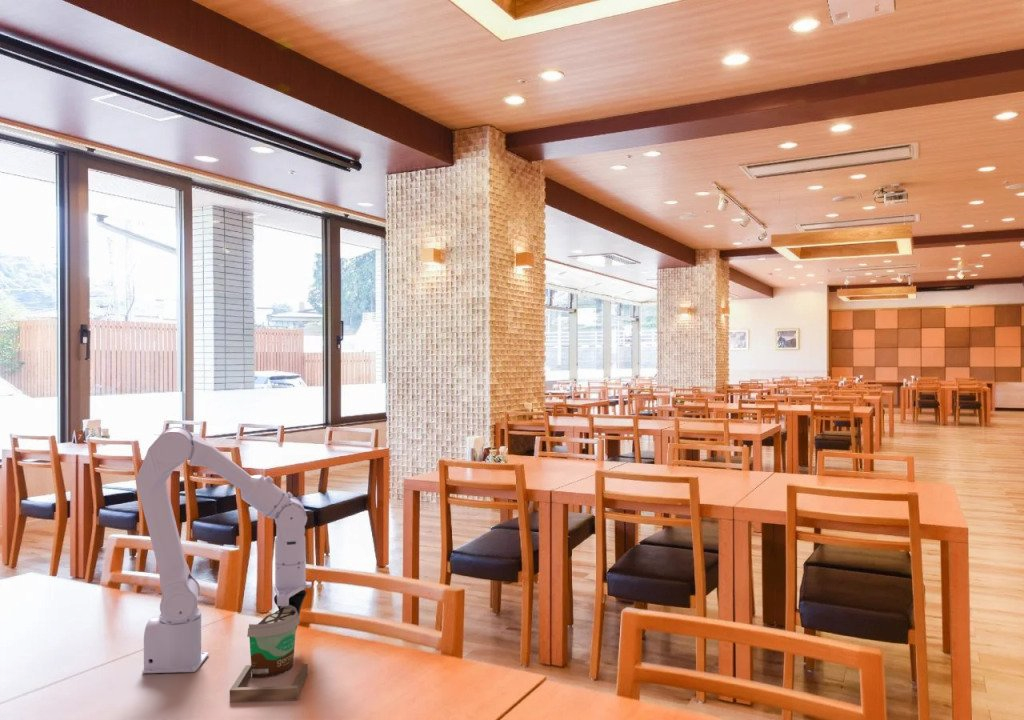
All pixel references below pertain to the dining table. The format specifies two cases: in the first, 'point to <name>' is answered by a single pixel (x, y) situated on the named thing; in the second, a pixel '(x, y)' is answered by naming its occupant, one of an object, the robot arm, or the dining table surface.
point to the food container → (273, 643)
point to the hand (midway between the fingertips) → (290, 630)
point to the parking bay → (266, 688)
